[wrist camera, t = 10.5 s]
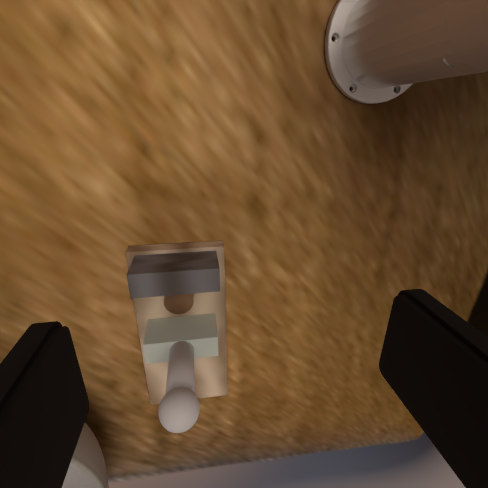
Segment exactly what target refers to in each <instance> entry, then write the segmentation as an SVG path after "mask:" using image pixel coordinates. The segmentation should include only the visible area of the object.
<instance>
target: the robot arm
mask: <svg viewBox="0 0 488 488" xmlns="http://www.w3.org/2000/svg"><path fill="white" fill-rule="evenodd" d="M331 37H333V38H334V41H332V38H331ZM325 58H326V63H327V68H328V71H329V73H330V76H331V78H332V80H333V82H334V83H335V85H336V87H337V88H338V89H339V90H340V91H341V92H342V93H343V94H344V95H345V96H347V97H348V98H350V99H351V100H354V101H357V102H359V103H366V104H376V103H382V102H387V101H389V100H391V99H394V98H396V97H398V96H399V95H401V94H402V93H404V92H405V91H406V90H407V89H408V88H409V87H410V86H411V85H412V84H413V83H418V82H425V81H431V80H437V79H444V78H450V77H457V76H463V75H470V74H476V73H482V72H488V0H338V2H337V3H336V5H335V7H334V9H333V11H332V14H331V16H330V19H329V22H328V26H327V29H326V36H325ZM350 87H351V91H350V89H349V88H350ZM379 368H380V371H381V373H382V375H383V377H384V378H385V379H386V381H387V382H388V383H389V385H390V386H391V387H392V389H393V390H394V391H395V393H396V394H397V396H398V397H399V398H400V400H401V401H402V402H403V404H404V405H405V406H406V408H407V409H408V410H409V412H410V413H411V414H412V416H413V417H414V418H415V420H416V421H417V423H418V424H419V425H420V427H421V428H422V429H423V431H424V432H425V433H426V435H427V436H428V437H429V439H430V440H431V441H432V443H433V444H434V445H435V447H436V448H437V450H438V451H439V452H440V454H441V455H442V456H443V458H444V459H445V460H446V462H447V463H448V464H449V466H450V467H451V468H452V470H453V471H454V472H455V474H456V475H457V477H458V478H459V479H460V480H461V481H462V483H463V485H464V486H465V487H466V488H488V338H487V337H486V336H485V335H483V334H482V333H481V332H479V331H478V330H477V329H475V328H474V327H473V326H471V325H470V324H469V323H467V322H466V321H465V320H463V319H462V318H461V317H459V316H458V315H457V314H455V313H454V312H453V311H451V310H450V309H449V308H447V307H446V306H444V305H443V304H442V303H440V302H439V301H438V300H436V299H435V298H434V297H432V296H431V295H430V294H428V293H427V292H426V291H424V290H422V289H413V290H403V291H400V293H399V294H398V296H396V297H395V298H394V301H393V305H392V309H391V314H390V318H389V322H388V327H387V331H386V335H385V340H384V344H383V348H382V353H381V357H380V361H379ZM88 409H89V401H88V396H87V393H86V389H85V385H84V382H83V378H82V374H81V371H80V367H79V363H78V360H77V356H76V352H75V349H74V345H73V342H72V338H71V334H70V331H69V328H68V327H66V326H63V327H62V325H61V323H60V322H57V321H56V322H45V323H34V324H32V325H31V326H30V327H29V328H28V329H27V330H26V332H25V333H24V334H23V335H22V337H21V338H20V339H19V341H18V342H17V343H16V345H15V346H14V347H13V348H12V350H11V351H10V352H9V354H8V355H7V356H6V357H5V359H4V360H3V361H2V363H1V364H0V488H62V485H63V483H64V480H65V477H66V474H67V471H68V468H69V465H70V463H71V460H72V457H73V454H74V451H75V448H76V446H77V443H78V440H79V437H80V434H81V431H82V428H83V426H84V423H85V420H86V417H87V414H88Z"/></svg>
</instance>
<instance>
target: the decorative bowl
mask: <svg viewBox="0 0 488 488" xmlns="http://www.w3.org/2000/svg"><path fill="white" fill-rule="evenodd" d="M62 488H109V487H108V477H107V469H106V464H105V460H104V456H103V453H102V450H101V448H100V445H99V443H98V441H97V439H96V437H95V435H94V434H93V432H92V431H91V429H90V428H89V427H88V425H87V424H86V423H84V426H83V428H82V431H81V434H80V437H79V440H78V443H77V446H76V448H75V451H74V454H73V457H72V460H71V463H70V465H69V468H68V471H67V474H66V477H65V480H64V483H63V485H62Z"/></svg>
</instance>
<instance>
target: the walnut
mask: <svg viewBox="0 0 488 488" xmlns="http://www.w3.org/2000/svg"><path fill="white" fill-rule="evenodd" d="M193 303H194V293H193V294H181V295H169V296H164V306H165V308H166V309H167V310H168V311H169V312H171V313H173V314H184V313H186V312H188V311H189V310H190V309H191V308H192V306H193Z"/></svg>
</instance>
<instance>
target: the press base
mask: <svg viewBox="0 0 488 488" xmlns="http://www.w3.org/2000/svg"><path fill="white" fill-rule="evenodd" d="M126 258H127V264H128V270H129V271H128V273H127V280H128V286H129V291H130V297H131V299H132V298H133V300H134V306H135V313H136V319H137V325H138V331H139V337H140V343H141V349H142V355H143V361H144V367H145V373H146V379H147V386H148V392H149V398H150V404H151V405H154V404H160V402H161V400H162V398H163V397H164V396H165V393H166V382H167V372H168V362H159V363H151V364H146V362H145V356H144V349H143V341H144V337H145V332H146V328H147V323H148V319H158V318H169V317H180V316H190V315H201V314H212V313H215V318H216V326H217V335H218V356H212V357H203V358H195V359H194V384H195V394H196V396H197V397H198V399H199V398H206V397H214V396H221V395H228V388H227V348H226V308H225V267H224V244H223V241H205V242H188V243H170V244H153V245H135V246H128V248H127V250H126ZM193 293H194V303H193V306H192V308H191V309H190V310H189V311H188V312H186V313H184V314H173V313H171V312H169V311H168V310H167V309H166V308H165V306H164V296H169V295H181V294H193Z"/></svg>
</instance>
